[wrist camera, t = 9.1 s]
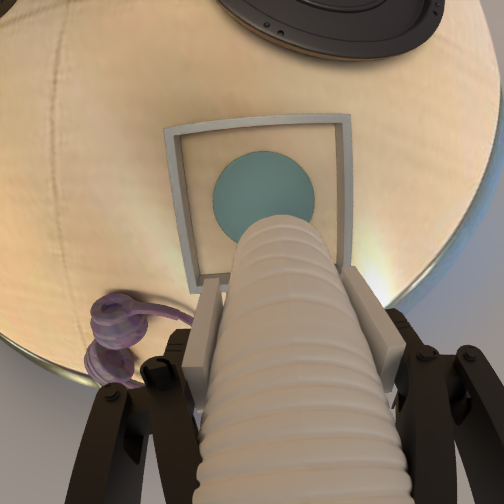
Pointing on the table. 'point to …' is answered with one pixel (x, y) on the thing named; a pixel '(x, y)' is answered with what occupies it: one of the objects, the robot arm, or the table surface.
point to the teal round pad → (261, 192)
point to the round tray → (341, 25)
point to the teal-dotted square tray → (174, 132)
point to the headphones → (120, 336)
